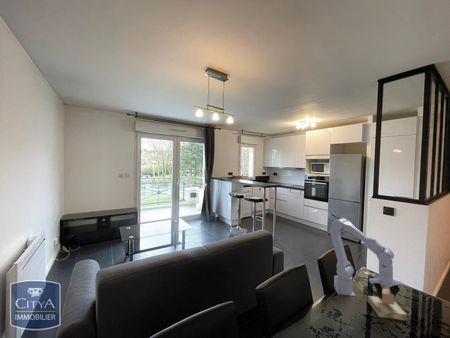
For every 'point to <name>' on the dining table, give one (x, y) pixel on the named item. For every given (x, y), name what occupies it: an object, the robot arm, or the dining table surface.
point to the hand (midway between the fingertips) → (386, 298)
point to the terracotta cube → (387, 297)
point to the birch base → (387, 309)
